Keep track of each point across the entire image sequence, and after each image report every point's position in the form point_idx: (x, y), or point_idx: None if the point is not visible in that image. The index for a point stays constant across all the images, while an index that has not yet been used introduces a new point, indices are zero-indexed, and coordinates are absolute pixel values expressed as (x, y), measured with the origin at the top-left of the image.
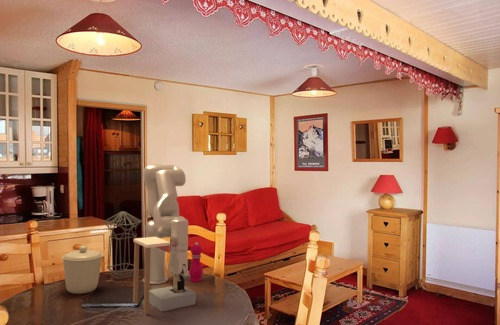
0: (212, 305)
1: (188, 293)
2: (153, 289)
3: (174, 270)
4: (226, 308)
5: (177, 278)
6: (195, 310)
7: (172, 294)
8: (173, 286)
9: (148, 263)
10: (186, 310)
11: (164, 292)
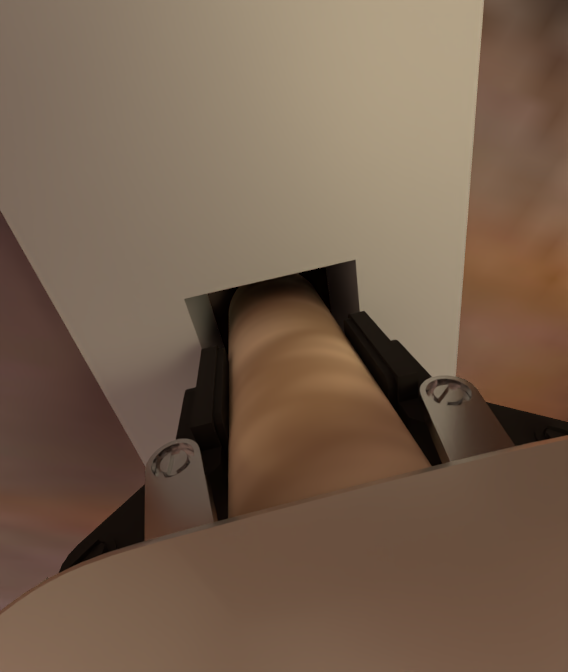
0: (121, 490)
1: (144, 425)
2: (477, 25)
3: (215, 649)
4: (49, 542)
5: (238, 457)
6: (27, 386)
7: (144, 260)
8: (290, 322)
9: None
10: (33, 325)
11: (265, 171)
